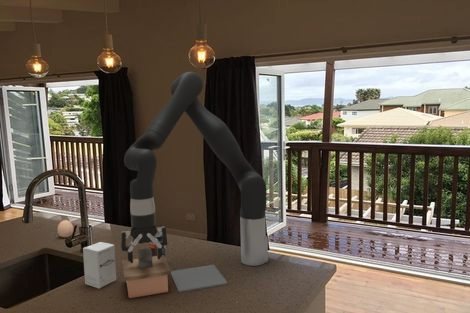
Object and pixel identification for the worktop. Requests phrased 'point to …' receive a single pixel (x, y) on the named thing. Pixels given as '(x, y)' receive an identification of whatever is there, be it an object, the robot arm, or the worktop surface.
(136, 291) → the open cardboard tray
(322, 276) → the worktop surface
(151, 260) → the lid
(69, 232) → the egg
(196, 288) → the mat
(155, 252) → the supplement bottle
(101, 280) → the supplement box
